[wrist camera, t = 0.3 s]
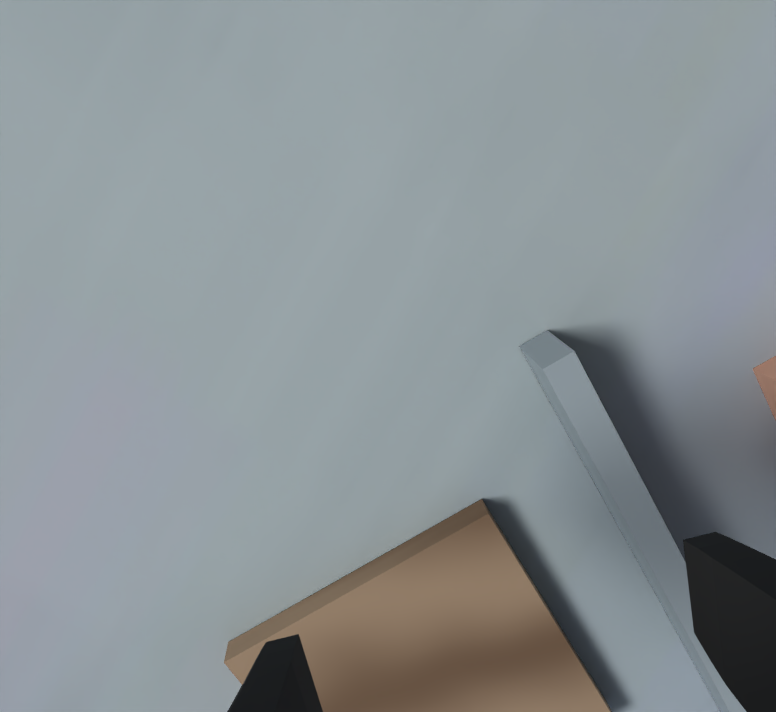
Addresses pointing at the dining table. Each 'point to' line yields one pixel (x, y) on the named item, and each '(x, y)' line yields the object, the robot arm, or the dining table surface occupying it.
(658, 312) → the dining table surface
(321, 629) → the walnut pad
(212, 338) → the dining table surface
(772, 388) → the terracotta block
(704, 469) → the dining table surface
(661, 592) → the low wall
